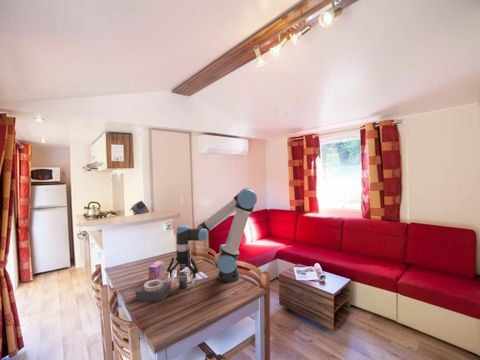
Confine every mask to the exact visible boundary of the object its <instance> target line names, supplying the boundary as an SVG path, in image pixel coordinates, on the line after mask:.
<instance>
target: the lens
mask: <svg viewBox="0 0 480 360" xmlns="http://www.w3.org/2000/svg"><path fill="white" fill-rule="evenodd" d="M178 288H179V289H180V290H186V289H187V288H188V272H187V271H180V272H179V273H178Z"/></svg>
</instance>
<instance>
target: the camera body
mask: <svg viewBox="0 0 480 360" xmlns="http://www.w3.org/2000/svg"><path fill="white" fill-rule="evenodd" d="M170 292H172V283H171V282H164V281H163V279H162V280H157V279H156V280H151V281H149V280H148V281H145V282H144V284H142V285H141V286H140V287H139V288H138V289H136V290H135V300H136V301H146V302H164V301H165V299H166V298H167V297H168V295H169V294H170Z"/></svg>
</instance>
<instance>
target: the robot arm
mask: <svg viewBox="0 0 480 360" xmlns="http://www.w3.org/2000/svg"><path fill="white" fill-rule="evenodd" d="M257 196H258V195H257V193H256V192H255V191H254V190H253V189H251V188H249V187H248V188H247V187H246V188H242V189H241V190H240V191H239V192H238V193H237V194H236V195H235V196H233V198H232V200H231V201H229V202H228V203H226V204H225V205H224V206H222V207H221V208H220V209H219V210H217V211H216V212H215V213H213V214H212V215H210V216H209V217H208V218H207V219H205V220H204V221H203V222H201V223H199V224H198V225H197V226H196V227H195V228H190V227H189V225H187V224H181V225H178V226H177V227H176V233H175V234H176V256H174V255H173V256H172V257H171V260H170V263H169V265H168V267H167V269H166V272H168V273H169V278H170V283H171V284H173V283H174V282H175V271H174V270H175V269H176V268H177V266H179V265H180V266H181V265H183V266H187V268H188V269H189V270H190V272H191V285H194V283H195V279H196V278H197V277H196V276H197V274H198V273H199V270H200V269H199V268H198V265H197V264H196V261H195V259H194V256H192V257H189V256H190V253H189V252H190V250H189V249H190V248H189V242H190V241H191V242H192V241H193V242H194V241H196V242H198V241H199V242H203V241H205V242H206V241H207V240H208V236H209V235H208V234H209V232H210V231H212V230H213V229H214V228H215V227H217V226H218V225H220V223H222V222H223V221H225V220H226V219H228V218H229V217H230V216H232V215H233V214H234V217H233V219H232V222H231V225H230V229H229V232H228V236H227V238H226V242H225V243H224V244H220V246H219V254H218V259H217V262H216V263H217V268H218V273H217V280H218V281H220V282H223V283H233V282H236V281H238V280H239V279H240V272H239V269H238V266H237V265H238V264H237V263H238V258H239V255H240V251H239V248H240V244H241V241H242V238H243V234H244V232H245V228H246V224H247V222H248V218H249V215H250V214H252V213H253V211H254V208H255V205H256V204H257V201H258V197H257ZM175 261H176V262H175ZM174 262H175V265H174ZM190 262H191V263H190ZM173 265H174V266H173ZM172 266H173V267H172Z"/></svg>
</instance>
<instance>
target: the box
mask: <svg viewBox="0 0 480 360" xmlns="http://www.w3.org/2000/svg"><path fill="white" fill-rule="evenodd" d="M156 279H157V280H162V281H163V279H165V262H164V261H162V260H156V261H155V262H154V263H152V264H150V265H148V281H151V280H156Z"/></svg>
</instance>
